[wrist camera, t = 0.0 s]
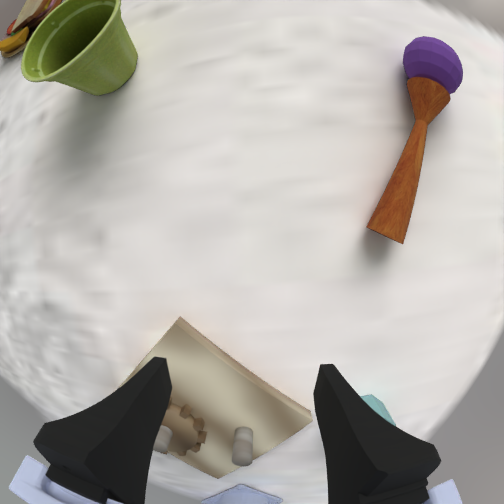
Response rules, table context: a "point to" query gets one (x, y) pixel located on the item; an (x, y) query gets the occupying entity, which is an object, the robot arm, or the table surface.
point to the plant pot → (81, 47)
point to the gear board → (218, 406)
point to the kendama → (417, 129)
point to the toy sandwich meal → (26, 25)
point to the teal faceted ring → (378, 407)
